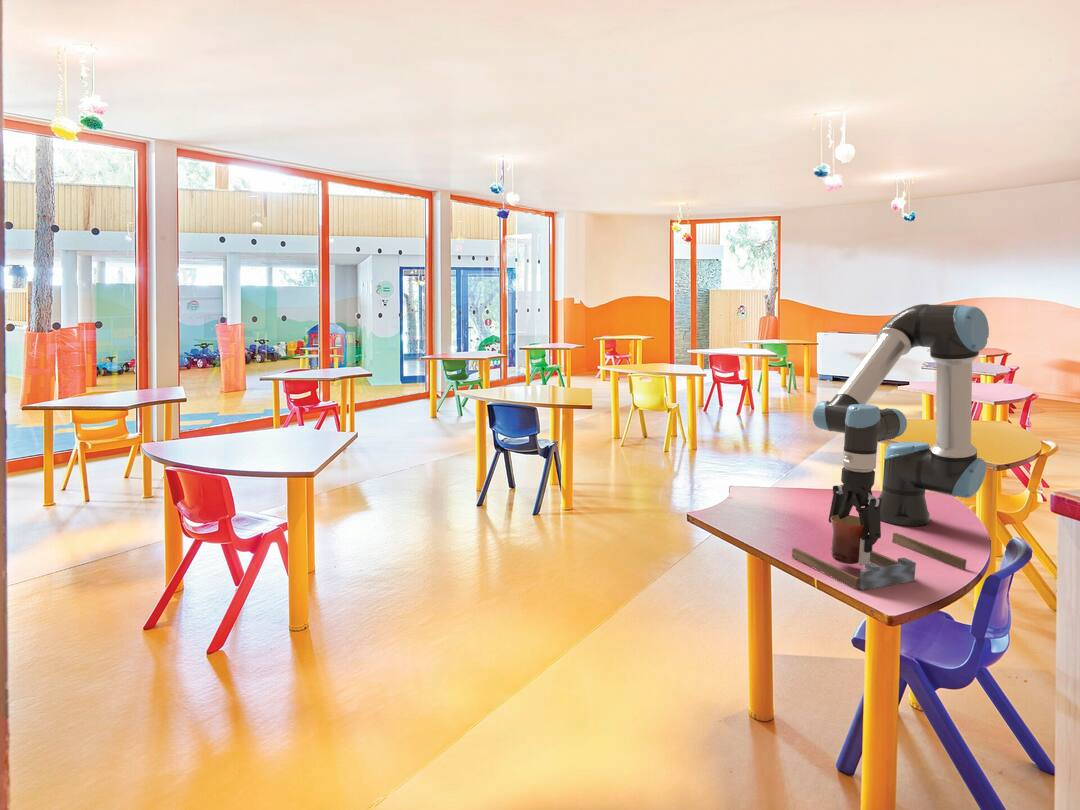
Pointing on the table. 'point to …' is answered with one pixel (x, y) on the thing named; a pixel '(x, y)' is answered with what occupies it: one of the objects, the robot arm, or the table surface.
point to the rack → (890, 568)
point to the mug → (846, 539)
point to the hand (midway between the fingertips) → (851, 558)
